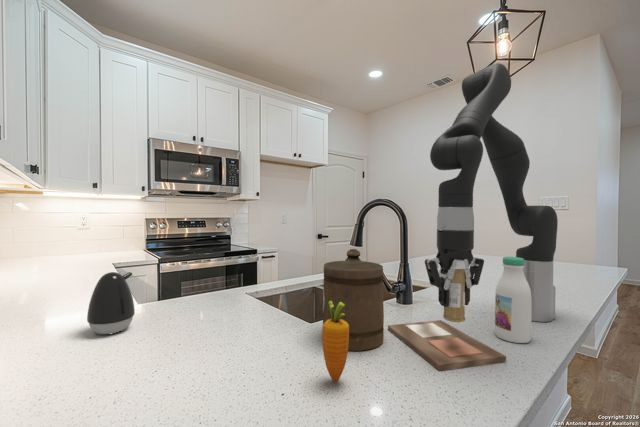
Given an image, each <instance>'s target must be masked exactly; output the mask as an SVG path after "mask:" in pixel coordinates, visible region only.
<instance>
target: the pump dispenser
mask: <svg viewBox="0 0 640 427" xmlns="http://www.w3.org/2000/svg"><path fill="white" fill-rule="evenodd" d="M132 276H133V273H132V272H131V271H129V272H127V273H125V274H123V275H122V274H121V273H118V272H116V271H115V272H114V271H113V272H111V271H110V272H107V273H105V274H103V275H102V276H101V277H99V279H98V282H97V283H96V285H95V286H94V289H93V292H92V295H91V297H90V300H89V303H88V309H87V315H86V316H87V317H86V321H87V323H88V325H89V327H90V329H91V330H92V332H94V333H96V334H97V335H102V334H109V335H111V334H110V333H115V334H117V333H116V332H118V333H120V332H119V331H121V332H122V331H124V330H126V329H127V328H128V327H129V326H130V325H131V323H132V321H133V318H134V316H135V313H136V312H135V304H134V298H133V294H132V291H131V289H130V286H129V284H128V282H127V280H128V279H129V278H130V277H132Z"/></svg>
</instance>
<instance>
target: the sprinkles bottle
mask: <svg viewBox="0 0 640 427" xmlns="http://www.w3.org/2000/svg"><path fill="white" fill-rule="evenodd" d="M465 268H466V267H465V262H464V261H463V260H458V261H457V265H456V267H454V269H455V272H454V276H453V279H452V280H451V281H450V284H449V288H448V289H447V290H449V306H448V307H444V306H443V316H442V317H443V319H444V320H446V321H448V322H450V323H463V322H465V321H466V317H465V312H466V311H465V308H466V307H465V306H466V305H465V273H464V271H465V270H464V269H465ZM444 274H445V275H447V273H446V272H444Z"/></svg>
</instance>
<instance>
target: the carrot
mask: <svg viewBox="0 0 640 427" xmlns="http://www.w3.org/2000/svg"><path fill="white" fill-rule="evenodd" d="M328 303H329V306H330V313H331V317H332V319H328V320H327V321H326V322H325V323H324V324H323V323H322V328H321V330H322V331H321V332H322V335H321V336H322V351H323V357H324V362H325V366H326V369H327V372H328V374H329V377H330V378H331V380H332V381H333V382H334V383H335V382H336V383H337V382H339V380H340V379H341V376H342V374H343V373H344V369H345V367H346V362H347V358H348V352H349V350H348V345H349V324H348V323H347V322H346V321H344V320H342V319H341V318H342V317H343V316H344V315H345V314H344V313H341V314H340V311H341V309H342V308H343V307H344V306H345V304H343V303H342V302H339V304H338V306H337V308H336V310H335V313H334V305H333V303H332V301H329V302H328ZM339 314H340V315H339Z"/></svg>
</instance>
